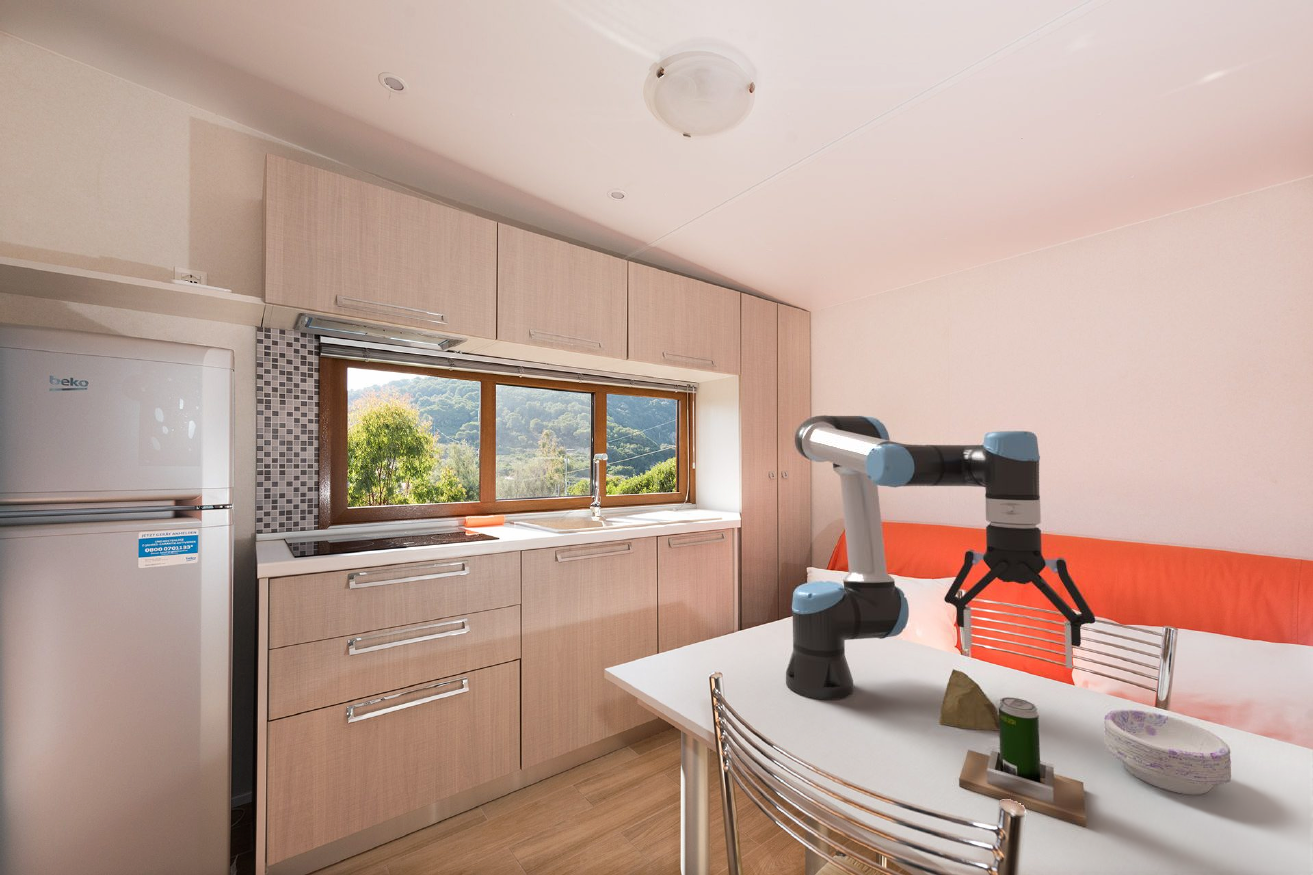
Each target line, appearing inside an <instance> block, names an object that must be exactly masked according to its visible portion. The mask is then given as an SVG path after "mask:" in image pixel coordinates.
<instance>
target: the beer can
mask: <svg viewBox="0 0 1313 875" xmlns="http://www.w3.org/2000/svg"><path fill="white" fill-rule="evenodd" d="M997 709H998V715H999V730H998V734H999V736H998V737H999V738H998V739H999V750H1000V770H1001V772H1004V773H1008V774H1011V775H1014V776H1018V777H1021V778H1025V779H1028V780H1031V781H1035V782H1038V783H1040V782H1041V772H1040V761H1041V749H1040V748H1041V746H1040V723H1039V722H1040V721H1039V716H1040V715H1039V712H1038V709H1037V706H1036V705H1035V704H1034V703H1032V702H1030V701H1028V700H1026V699H1022V698H1017V697H1010V696H1006V697H1002V698H1000V699H999V704H998V708H997Z"/></svg>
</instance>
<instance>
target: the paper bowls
mask: <svg viewBox="0 0 1313 875" xmlns="http://www.w3.org/2000/svg"><path fill="white" fill-rule="evenodd" d="M1103 718H1104V719H1103V720H1104V721H1103V725H1104V743H1105V747H1106V749H1107V750H1108V751H1109V752H1110V753H1111V755H1113V756H1114V757H1115V758H1117V759H1118V760H1120V761H1121V762H1122V765H1123V766H1124V767H1125V768H1126V769H1127V771H1128V772H1130V773H1131V775H1133V776H1134V777H1136V778H1137V779H1139V780H1142V781H1143V782H1145V783H1147V784H1150V785H1151V786H1154V787H1157V788H1158V789H1159V788H1160V789H1162V790H1165V791H1169V792H1173V793H1178V794H1183V795H1191V796H1192V795H1193V796H1194V795H1202V794H1205V793H1208V792H1209V791H1211V789H1212V788H1213V787H1219V786H1224V785H1227V784H1228V783H1230V782H1231V779H1232V770H1231V769H1232V766H1231V765H1232V760H1231V749H1230V747H1229V745H1228V744H1227V743H1226V742H1225V741H1224V740H1223V739H1222V738H1220V737H1219V736H1218V735H1216V734H1214V732H1212V731H1210V730H1207V729H1205V728H1203V727H1200V726H1198V725H1196V724H1193V723H1191V722H1189V721H1185V720H1182V719H1179V718H1176V717H1172V716H1169V715H1165V714H1162V713H1161V714H1160V713H1156V712H1151V711H1145V710H1138V709H1116V710H1111V711H1108V712H1107V713H1106V714H1105V715H1104V717H1103Z"/></svg>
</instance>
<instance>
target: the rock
mask: <svg viewBox="0 0 1313 875" xmlns="http://www.w3.org/2000/svg"><path fill="white" fill-rule="evenodd" d="M940 709H941V710H940V717H939V722H938V723H939V724H940V725H942V726H943V725H947V726H952V727H956V728H961V729H969V730H982V731H985V730H993V731H999V711H997V709H998V708H996V706H995V705H994V704H993V702H992V701H991V700H990V699H989V698H988V696H987V694H986V693H985V692H984V691H983V689H981V687H980V685H979V684H978V683H977V682H975V681H974V680H973V679H972V678H971V677H970V676H969V675H968V674H966V673H965V672H963V671H960V670H957V669H954V668H953V669H952V671H951V674H950V676H949V678H948V681H947V684H946V688H945V692H944V697H943V700H942V702H941V708H940Z"/></svg>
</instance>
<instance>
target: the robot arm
mask: <svg viewBox="0 0 1313 875" xmlns="http://www.w3.org/2000/svg"><path fill="white" fill-rule="evenodd" d="M794 445H795V446H794V447H795V448H796V450H797V452H798V453H799V454H800V455H801V456H802V457H803V458H805V459H808V460H811V461H813V462H816V463H824V462H829V463H832V469H833V472H834V473H836V474H838V475H839V478H840V488H841V491H840V492H841V500H842V510H843V511H842V512H843V520H844V521H843V522H844V532H845V542H846V543H845V544H846V554H847V565H848V573H847V575H845V577H844V578H843V580H842V582H843V585H842V584H841V583H839V582H836V581H829V580H828V581H821V580H820V581H819V580H818V581H811V582H806V583H803V584H801V585H798V586H797V587H796V588H795V590H793V593H792V604H791V610H792V652H791V654H790V655H791V656H790V658H789V662H788V665H787V668H786V671H785V685H786V686H787V687H788V689H790V690H791V691H792V692H794V693H796V694H799V695H802V696H805V697H808V698H811V699H817V700H818V699H820V700H838V699H839V700H841V699H843V698H848V697H850V696H851V695H852V694H853V693H854V680H853V676H852V673H851V670H850V667H849V664H848V660H847V658H846V654H845V653H846V652H845V650H846V648H845V647H846V646H845V641H847V640H848V641H849V640H852V641H853V640H864V639H881V640H882V639H886V638H892V637H897V636H899V635H901V633H902V632H903V630H905V628H906V627H907V624H908V621H909V615H910V614H909V612H910V608H909V602H908V598H907V597H905V592H904V591H903V590H902V589H901V588H899V587H898V586H896V585H895V582H896V581H895V578H893V577H892V576H891V575H890V574H889V573H888V571H887V563H886V554H885V545H884V544H885V543H884V534H883V525H882V517H881V516H882V515H881V508H880V507H881V505H880V496H879V488H878V486H881V487H889V488H898V487H975V488H976V487H979V488H984V489H985V496H984V497H985V521H986V522H988V523H989V524H987V526H985V534H986V535H985V536H986V539H985V540H986V541H985V542H986V549H985V550H986V551H985V553H982V552H977V551H974V549H968V550H967V551H966V552H965V554H964V560H963V561H964V562H963V565H962V567H961V568H960V570H959V572H958V574H957V575H956V577H955V579H954V580H953V582H952V584H951V586H950V587H949V588H948V591H947V592H946V594H945V596H944V598H943V600H944V602H945V603H947V604H951V605H953V606H954V607H955V609H956V625H957V627H959V628H963V635H964V636H963V638H964V639H963V642H964V645H963V646H964V650H968V651H969V650H970V649H971V647H972V646H973V643H972V641H973V640H972V607H971V606H967V605H968V604H969V603H970V602H971V601H973V599H974V598H975V597H976V596H978V595H979V594H980V593H981V592H982V591H984V589H985V588H986V587H988V586H989V585H990V584H991V583H992V582H994V580H995V579H996V578H997V580H1000V581H1002V583H1017V584H1021V585H1027V584H1029V583H1032V584H1033V586H1035V587H1036V589H1038V590H1039V591H1040V592H1041V593H1042V594H1043V595H1044V597H1045V598H1047V599H1048V601H1049V602H1050V603H1052V605H1053V606H1054V607H1055V608H1056V609H1057V610H1058V611H1059V613H1061V614H1062V616H1064V618H1065V619H1067V621H1066V620H1064V641H1065V642H1064V644H1065V646H1064V647H1065V648H1064V649H1065V668H1066V669H1069V670H1070V669H1071V670H1073V657H1072V656H1073V651H1072V650H1073V649H1072V648H1073V647H1072V646H1074V647H1080V646H1081V644H1082V635H1081V632H1082V631H1081V627H1082V626H1083V625H1085V624H1086V625H1087V624H1095V622H1096V618H1095V614H1094V612H1093V611H1092V609H1091V608H1090V606H1089V604H1088V602H1087V600H1086V599H1085V598H1084V597H1083V595H1082V593H1081V591H1080V589H1079V588H1078V586H1077V585H1076V584H1075V582H1074V580H1073V579H1072V577H1071V575H1070V574H1069V572H1068V567H1067V561H1066V559H1065V558H1064V557H1057V558H1044V555H1043V554H1042V552H1043V551H1042V530H1041V529H1040V527H1037V525H1040V524H1041V522H1042V521H1041V518H1042V516H1041V495H1040V460H1041V455H1040V453H1039V444H1038V436H1037V435H1036V434H1035V433H1034V432H1032V431H1025V430H1022V431H1021V430H1013V431H1011V430H1006V431H1004V430H1003V431H1000V430H999V431H991V432H987V433H985V434H984V437H983V444H963V445H962V444H958V445H957V444H906V443H901V442H896V441H892V440H891V438H890V436H889V432H888V430H887V428H886V426H885V424H884V423H883V422H881V421H880V419H878V418H876V417H872V416H864V415H826V414H825V415H816V416H813V417H810V418H808V419H805V421H803V422H802V423H800V425H799V426H798V427H797V429H796V431H795V434H794ZM980 561H983V562H984V563H985V564H986V566H987V567H988V568H989V569H990V570H989V571H988V572H987V573H986V574H985V575H983V577H982V578H981V579H979V580H978V581H977V582H976V583H975V584H974V585H972V586H971V588H970V589H968V591H967V592H965V593H964V594H963V595H962V596H961V597H958V596H957V595H958V592H959V591H960V589H961V587H962V585H963V584H964V582H965V580H966V579H967V577H968V576H969V573H970V572H971V570H972V568H973V566H974V565H975V566H976V565H978V564H979V563H980ZM1046 567H1048V568H1049V569H1050V570H1051V572H1052V573H1054V574H1058V577H1059V578H1060V581H1061V582H1062V585H1063V586H1064V587H1065V589H1066V590H1067V592H1068V594H1069V595H1070V598H1071V599H1072V601H1073V602H1074V604H1075V606H1076V607H1077V609H1078V610H1079V612H1080V613H1076V612H1075V611H1074V610H1073V609H1072V608H1071V607H1070V605H1068V603H1067V602H1066V601H1065V600H1064V599H1063V598H1062V597H1061V596H1060V595H1059V594H1058V593H1057V592H1056V591H1055V590H1054V589H1053V587H1052V586H1051V585H1049V583H1047V581H1046V580H1045V578H1043V576H1041V574H1040V573H1041V572H1042V571H1043V570H1044V569H1045V568H1046Z"/></svg>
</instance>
